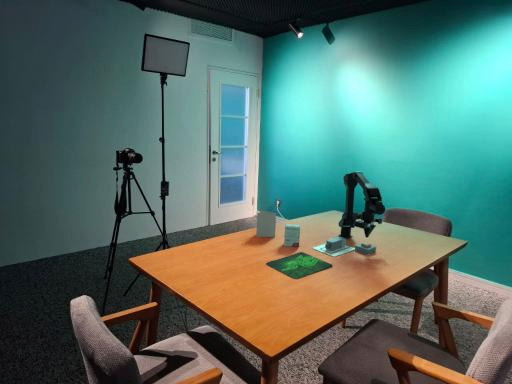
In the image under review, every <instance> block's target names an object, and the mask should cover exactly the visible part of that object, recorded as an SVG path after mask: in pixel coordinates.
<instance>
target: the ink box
mask: <svg viewBox="0 0 512 384" xmlns="http://www.w3.org/2000/svg"><path fill="white" fill-rule="evenodd" d="M300 234H301V225H300V224H288V223H287V224H284V235H283V236H284V237H283V238H284V239H283V246H284V247H293V248H294V247H295V248H299V247H300V237H301V235H300Z"/></svg>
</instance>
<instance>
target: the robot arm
mask: <svg viewBox="0 0 512 384" xmlns="http://www.w3.org/2000/svg"><path fill="white" fill-rule="evenodd" d="M343 185H344V186H345V189H346V191H345V205H344V211H343V213H342V216H341V219H340V220H339V221H338V227H340V234H338V236H337V237H343V238H345V239H349V238H353V237H354V236H353V235H352V229H354V228H359V229H362V230H363V233H364V236H365V238H367V239H368V238H369V237H370V236H371V234H372V232H373V231H374V229H375V228H376V227H377V225H375V223H377V224H378V225H381V224H383V219H382V218H381V217H376V215H377V216H382V215H383V214H384V213H385V212H386V206H385V205H384V203H383V200H382V199H383V197H382V195H381V192H380V191H381V190H380V189H379V187H377V186H376V185H374V184H371V182H370V181H369V180H368V179H367V178H366V176H365V175H364V173H363V171H352V172H350V173H345V175H343ZM358 185H359V186H360V187H361V189H362V193H363V196H364V198H363V201H364V209H363V210H362V211H361V213H358V212H354V201H355V189H356V188H357V186H358Z"/></svg>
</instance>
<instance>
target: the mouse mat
mask: <svg viewBox="0 0 512 384" xmlns="http://www.w3.org/2000/svg"><path fill="white" fill-rule="evenodd" d="M265 266H268V267H269V268H271V269H272V270H276V271H277V272H279V273H280V274H283V275H284V276H285V277H286V276H287V277H288V278H290V279H292V280H300V279H303V278H306V277H308V276H311V275H314V274H316V273H319V272H322V271H325V270H327V269H329V268H332V267H333V264H331V263H329V262H327V261H325V260H323V259H320V258H318V257H316V256H313V255H311V254H308V253H306V252H303V251H302V252H301V251H299V252H297V253H294V254H291V255H288V256H285V257H281V258H278V259H275V260H271V261H267V262H266V263H265Z"/></svg>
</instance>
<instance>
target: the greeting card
mask: <svg viewBox="0 0 512 384" xmlns="http://www.w3.org/2000/svg"><path fill="white" fill-rule="evenodd" d="M276 222H277V213H276V212H271V211H266V210H259V212H257V213H256V230H255V231H256V233H255V237H256V238H276V227H277V226H276V225H277V223H276Z"/></svg>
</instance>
